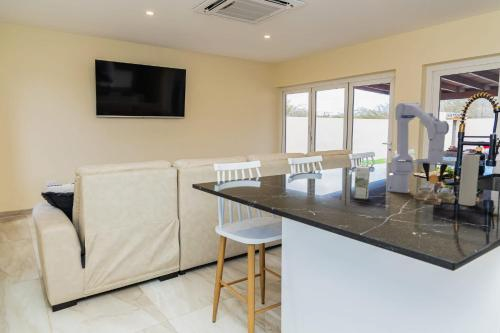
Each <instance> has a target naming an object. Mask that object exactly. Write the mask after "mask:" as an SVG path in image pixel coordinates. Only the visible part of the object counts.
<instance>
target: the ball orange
mask: <svg viewBox="0 0 500 333" xmlns="http://www.w3.org/2000/svg"><path fill="white" fill-rule="evenodd" d="M428 182H429V183H430V184H432V185H435V184H438V183H440V182H439V175H437V174H434V173H433V174H431V175H430V174H429V181H428Z"/></svg>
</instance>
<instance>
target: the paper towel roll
mask: <svg viewBox="0 0 500 333" xmlns="http://www.w3.org/2000/svg"><path fill="white" fill-rule="evenodd" d="M480 157H481V156H480V154H476V153H474V154H473V153H466V154H465V153H464V154H462V159H461V168H460V169H461V170H460V180H459V190H458V191H459V193H458V204H459V205H461V206H470V207H473V206H476V201H477V200H476V199H477V190H478V180H479V179H478V178H479V167H480V159H481V158H480Z"/></svg>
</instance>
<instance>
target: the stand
mask: <svg viewBox="0 0 500 333" xmlns="http://www.w3.org/2000/svg"><path fill="white" fill-rule="evenodd" d="M422 204H426V205H427V204H428V205H434V206H435V205H436V206H440V205H441V204H442V202H441V199H438V198H436V197H425V198H424V199H423V200H422Z"/></svg>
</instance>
